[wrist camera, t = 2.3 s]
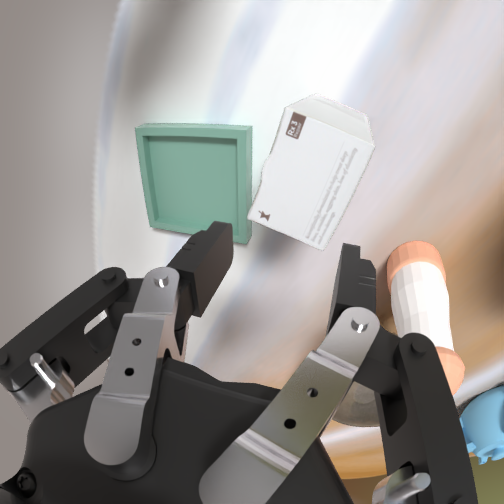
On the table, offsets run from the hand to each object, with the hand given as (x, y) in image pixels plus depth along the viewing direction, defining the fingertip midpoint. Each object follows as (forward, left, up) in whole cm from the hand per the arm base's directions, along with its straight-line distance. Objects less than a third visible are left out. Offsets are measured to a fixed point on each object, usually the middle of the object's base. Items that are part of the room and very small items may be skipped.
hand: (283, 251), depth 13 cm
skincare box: (0, 0, -22) cm, 22 cm away
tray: (+7, -15, -21) cm, 27 cm away
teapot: (+45, +47, -22) cm, 69 cm away
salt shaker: (+14, +13, -22) cm, 29 cm away
